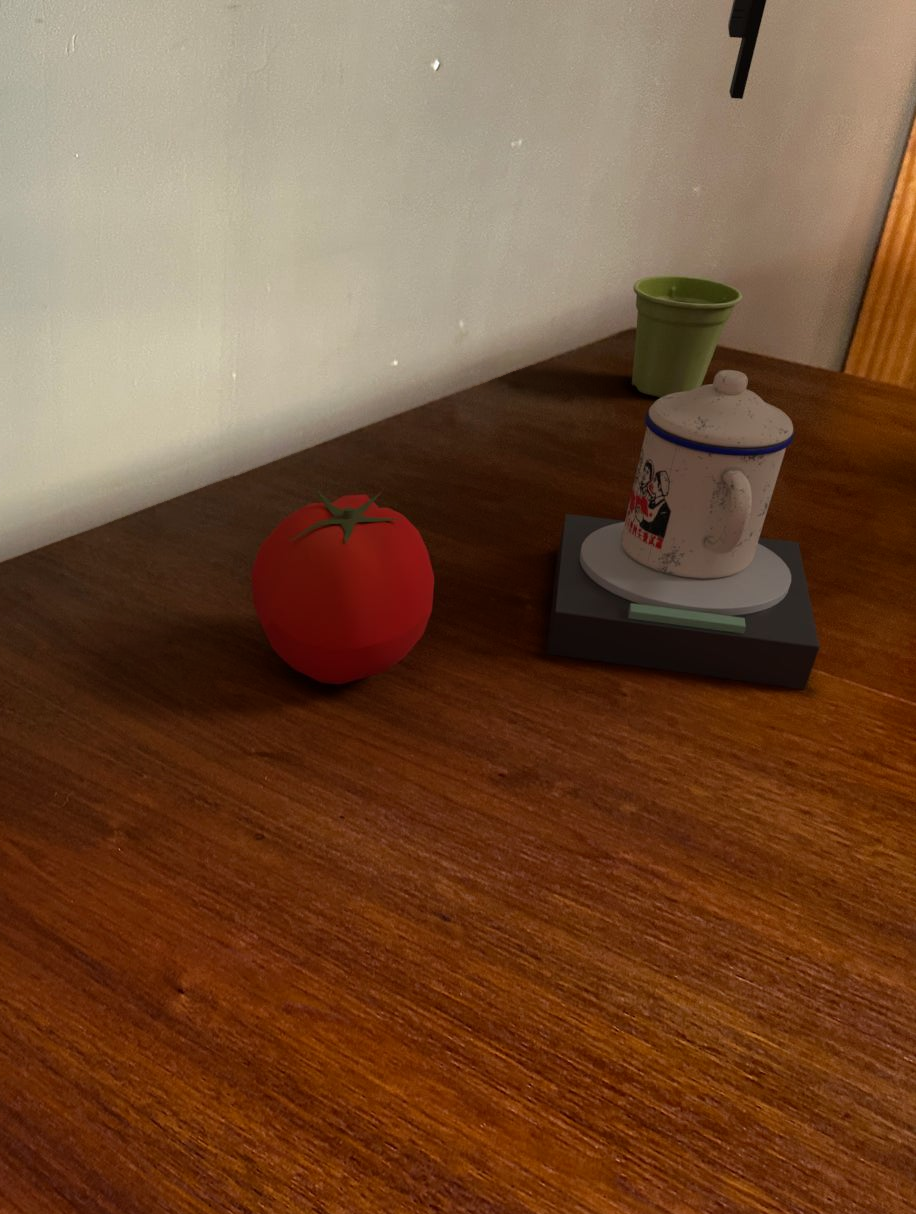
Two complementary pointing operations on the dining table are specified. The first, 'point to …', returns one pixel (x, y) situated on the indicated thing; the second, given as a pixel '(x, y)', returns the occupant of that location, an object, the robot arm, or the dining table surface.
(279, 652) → the tomato
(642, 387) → the plant pot
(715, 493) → the teacup with lid
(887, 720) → the dining table surface
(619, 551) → the scale
